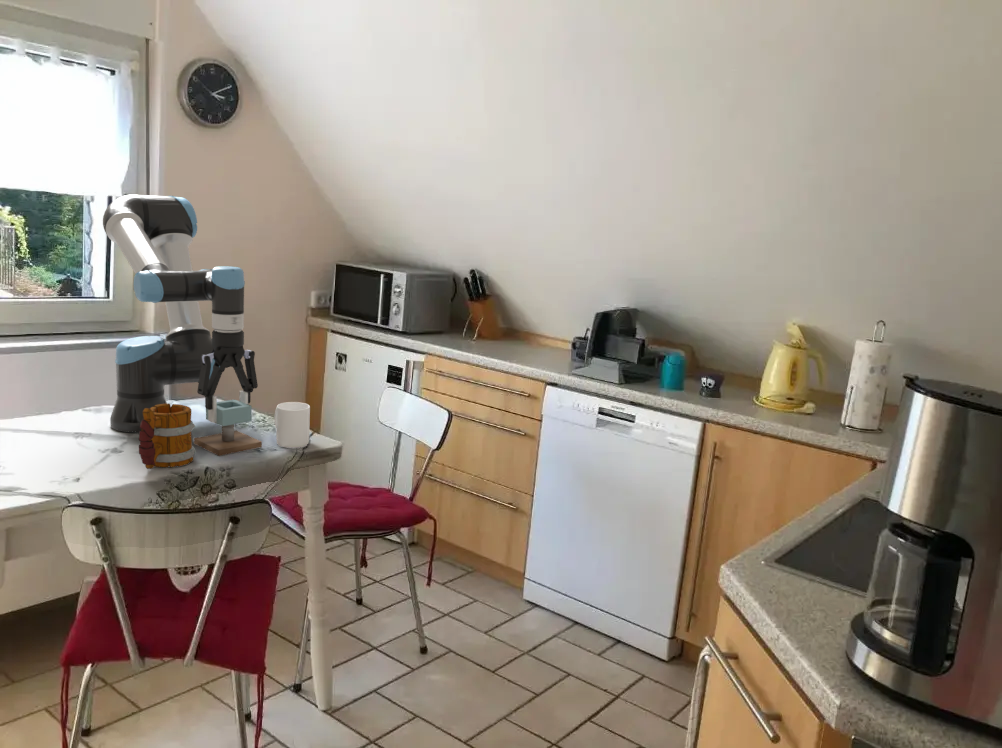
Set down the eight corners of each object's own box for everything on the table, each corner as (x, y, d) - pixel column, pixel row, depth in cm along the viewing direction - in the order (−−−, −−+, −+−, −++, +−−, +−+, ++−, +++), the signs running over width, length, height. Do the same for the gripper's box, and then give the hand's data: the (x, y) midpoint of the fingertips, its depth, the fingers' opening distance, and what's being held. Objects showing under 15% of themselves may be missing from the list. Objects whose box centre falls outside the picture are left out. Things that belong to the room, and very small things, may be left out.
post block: (193, 443, 216) (193, 409, 214) (236, 435, 225) (236, 402, 223) (218, 456, 208) (218, 420, 206) (261, 447, 217) (262, 413, 215)
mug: (204, 457, 207) (203, 397, 204) (162, 478, 191) (161, 414, 188) (164, 451, 209) (163, 391, 206) (120, 471, 194) (119, 407, 190)
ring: (205, 419, 215) (205, 403, 214) (234, 414, 220) (234, 399, 220) (222, 426, 209) (222, 410, 209) (251, 421, 215) (251, 405, 214)
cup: (288, 450, 216) (289, 412, 214) (261, 439, 224) (262, 401, 222) (315, 444, 222) (316, 407, 220) (288, 433, 230) (288, 397, 228)
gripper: (196, 335, 200) (197, 429, 205) (273, 329, 215) (272, 416, 220) (180, 330, 205) (181, 422, 210) (256, 324, 220) (256, 409, 225)
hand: (228, 418), depth 215 cm, fingers closed on ring, 8 cm apart
